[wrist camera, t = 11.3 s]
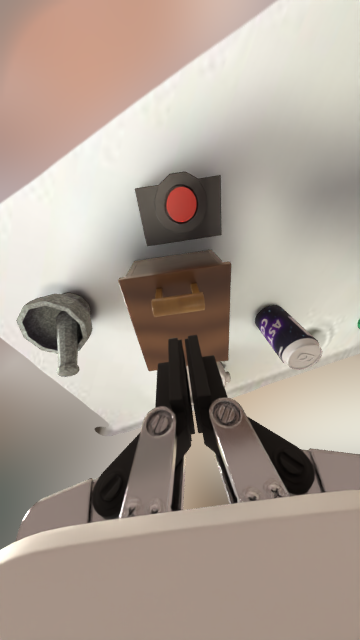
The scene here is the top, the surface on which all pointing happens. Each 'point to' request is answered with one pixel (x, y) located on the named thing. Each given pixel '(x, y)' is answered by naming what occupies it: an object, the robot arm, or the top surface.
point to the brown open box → (173, 262)
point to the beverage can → (288, 338)
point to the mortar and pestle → (57, 327)
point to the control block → (167, 229)
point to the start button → (181, 204)
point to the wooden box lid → (180, 310)
